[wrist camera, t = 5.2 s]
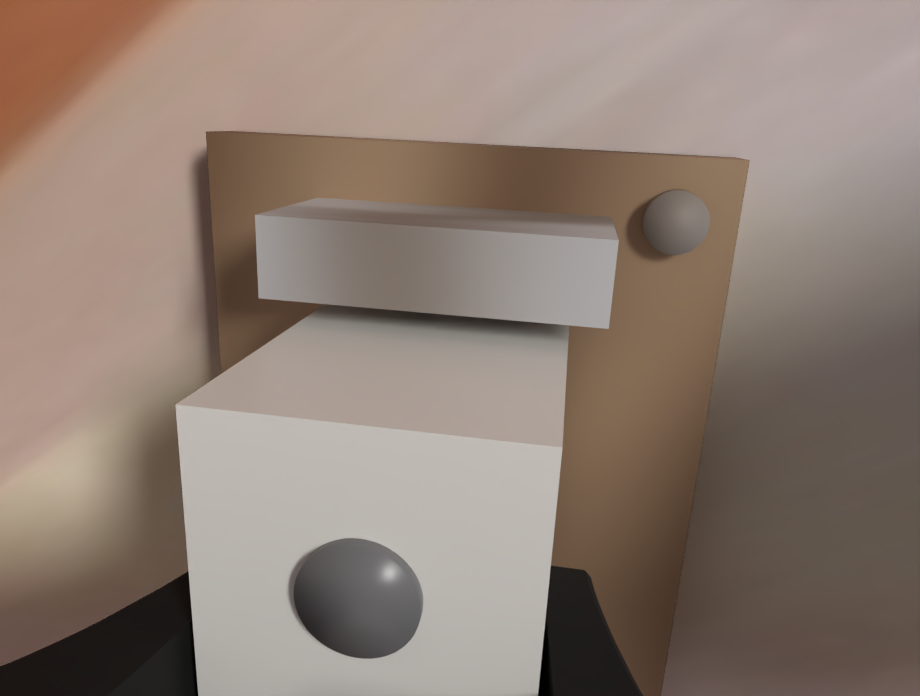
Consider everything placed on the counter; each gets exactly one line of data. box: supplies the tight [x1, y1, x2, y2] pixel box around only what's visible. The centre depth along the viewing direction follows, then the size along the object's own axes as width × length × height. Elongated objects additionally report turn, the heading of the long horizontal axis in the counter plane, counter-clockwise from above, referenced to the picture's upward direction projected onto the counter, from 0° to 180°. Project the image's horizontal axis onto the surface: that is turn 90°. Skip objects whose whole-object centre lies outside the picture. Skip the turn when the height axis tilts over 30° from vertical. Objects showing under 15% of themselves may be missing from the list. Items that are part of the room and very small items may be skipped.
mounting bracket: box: [206, 131, 750, 696], centre depth 13 cm, size 9×14×4 cm, turn 177°
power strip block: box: [175, 304, 569, 696], centre depth 11 cm, size 4×8×5 cm, turn 177°
